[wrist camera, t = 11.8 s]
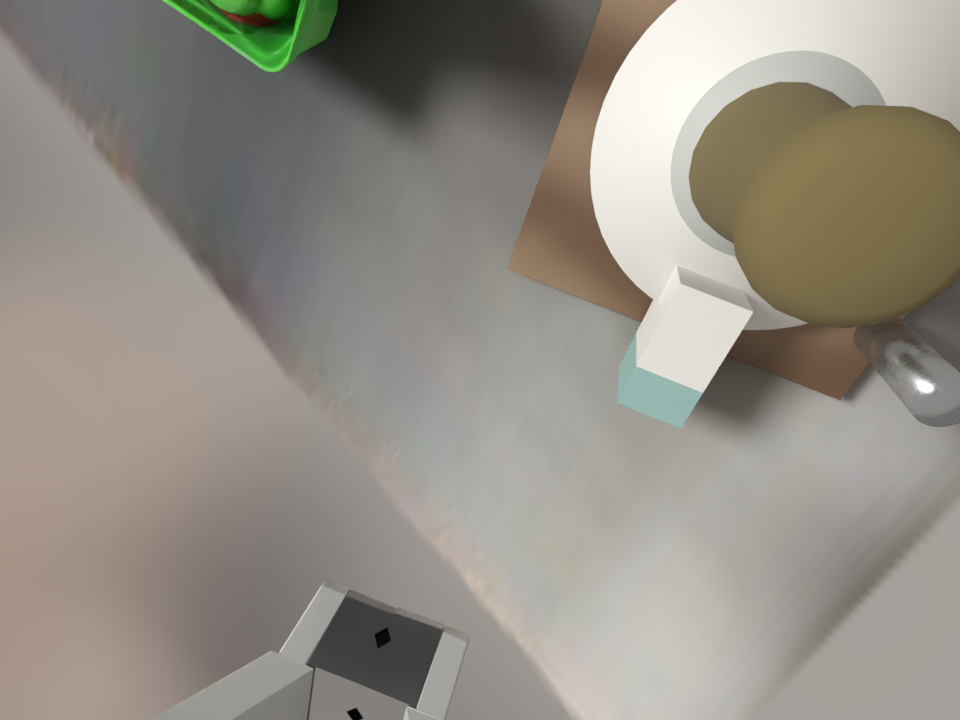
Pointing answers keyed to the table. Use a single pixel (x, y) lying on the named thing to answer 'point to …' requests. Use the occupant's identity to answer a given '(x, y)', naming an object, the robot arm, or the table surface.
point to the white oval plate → (678, 127)
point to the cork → (832, 202)
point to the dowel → (912, 371)
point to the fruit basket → (263, 26)
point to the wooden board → (584, 253)
